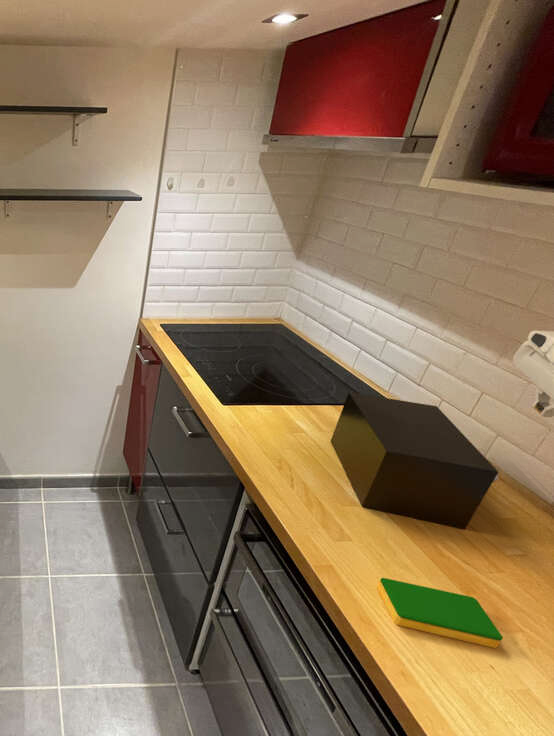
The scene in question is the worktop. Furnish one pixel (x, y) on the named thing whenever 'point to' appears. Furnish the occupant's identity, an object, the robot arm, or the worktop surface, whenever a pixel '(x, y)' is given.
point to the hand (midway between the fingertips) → (541, 412)
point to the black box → (410, 460)
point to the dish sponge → (438, 612)
